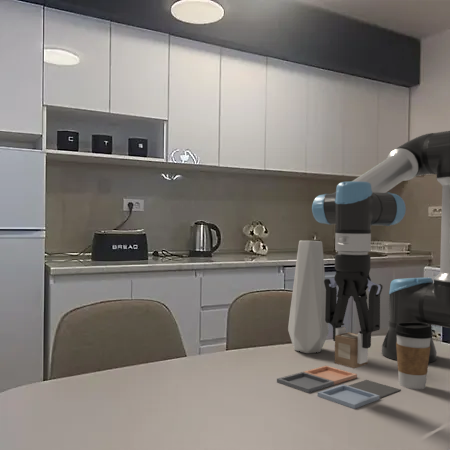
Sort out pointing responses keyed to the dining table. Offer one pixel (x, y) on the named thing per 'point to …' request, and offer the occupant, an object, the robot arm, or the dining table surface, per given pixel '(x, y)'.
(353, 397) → the tray slate
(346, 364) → the letter block
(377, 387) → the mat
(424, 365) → the coffee cup
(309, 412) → the dining table surface
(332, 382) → the tray charcoal
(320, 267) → the vase
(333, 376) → the tray terracotta
